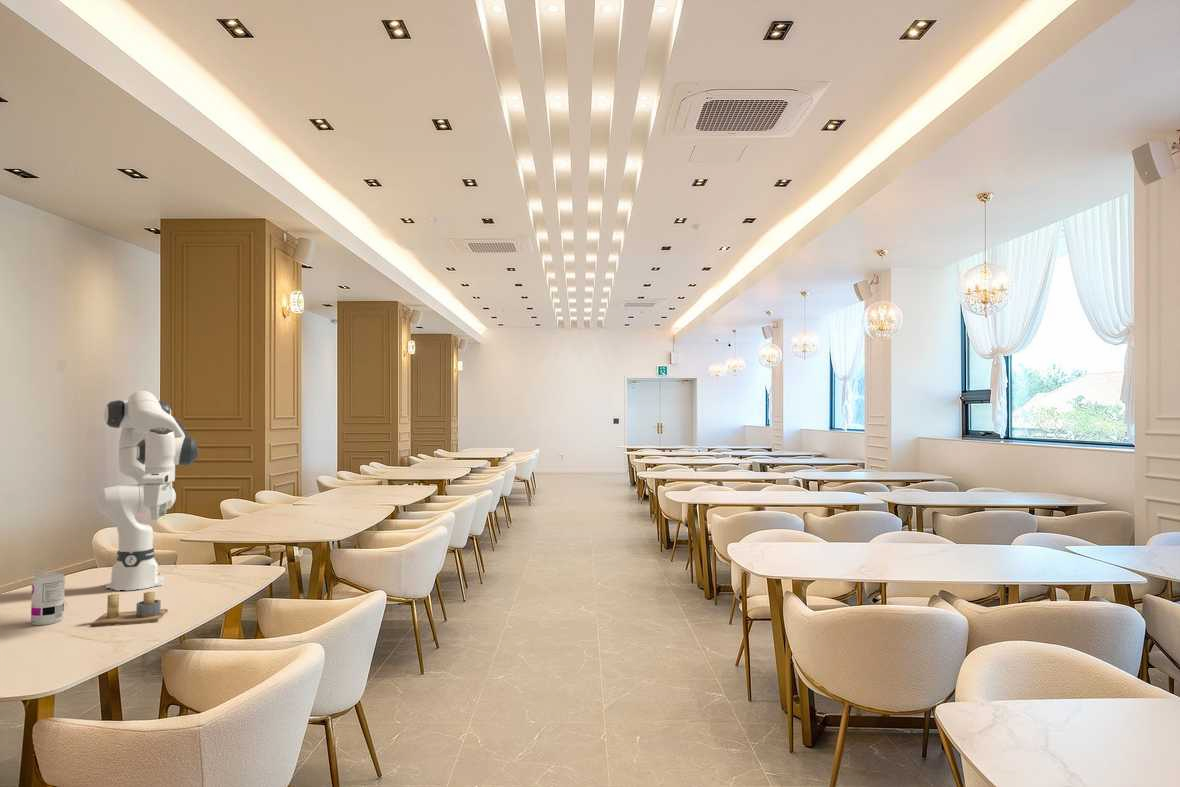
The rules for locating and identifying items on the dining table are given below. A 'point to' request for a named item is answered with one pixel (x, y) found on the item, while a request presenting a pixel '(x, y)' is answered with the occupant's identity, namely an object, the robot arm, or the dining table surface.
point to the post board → (125, 617)
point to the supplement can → (47, 598)
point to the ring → (148, 609)
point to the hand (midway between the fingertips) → (158, 517)
